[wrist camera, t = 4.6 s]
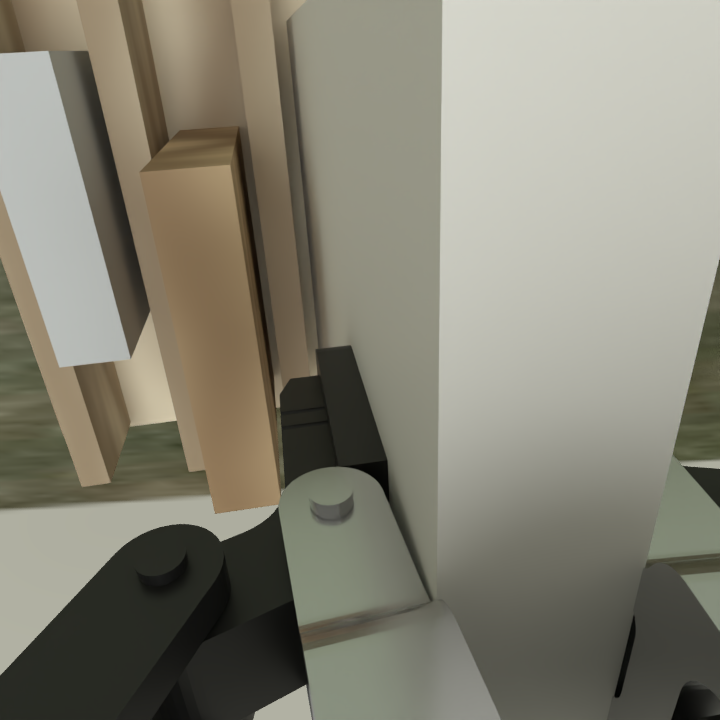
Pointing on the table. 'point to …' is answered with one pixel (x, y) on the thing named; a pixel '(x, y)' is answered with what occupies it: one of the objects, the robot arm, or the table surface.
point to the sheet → (517, 296)
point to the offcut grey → (69, 207)
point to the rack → (131, 154)
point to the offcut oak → (217, 310)
